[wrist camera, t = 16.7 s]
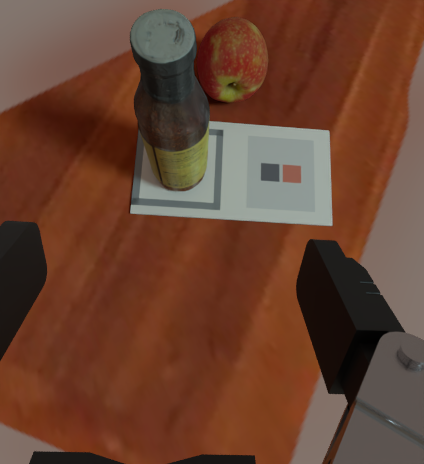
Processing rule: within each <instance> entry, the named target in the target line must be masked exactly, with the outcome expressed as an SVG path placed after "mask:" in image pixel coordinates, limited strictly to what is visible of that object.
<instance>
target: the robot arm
mask: <svg viewBox="0 0 424 464" xmlns="http://www.w3.org/2000/svg"><path fill="white" fill-rule="evenodd" d="M46 276H47V264H46V259H45V254H44V250H43V245H42V240H41V236H40V231H39V228H38V225H37V224H36V223H34V222H19V221H5V222H4V223H3V224H2V225H1V226H0V361H1V359H2V357H3V355H4V354H5V352H6V350H7V348H8V347H9V345H10V343H11V342H12V340H13V338H14V336H15V335H16V333H17V331H18V329H19V328H20V326H21V324H22V322H23V321H24V319H25V317H26V316H27V314H28V312H29V310H30V309H31V307H32V305H33V303H34V302H35V300H36V298H37V297H38V295H39V293H40V291H41V290H42V288H43V286H44V284H45V281H46ZM373 283H374V282H373V280H372V278H371V277H370V275H369V274H368V272H367V270H366V269H365V268H364V267H362V266H361V265H360V264H359V263H358V262H356V261H355V260H354V259H353V258H346V257H345V255H344V253H343V251H342V250H341V248H340V246H339V245H338V243H337V242H336V241H332V240H315V239H310V240H309V241H308V243H307V245H306V249H305V252H304V256H303V260H302V263H301V267H300V271H299V274H298V278H297V284H296V293H297V299H298V302H299V305H300V308H301V311H302V314H303V317H304V320H305V323H306V326H307V329H308V332H309V335H310V339H311V342H312V345H313V348H314V351H315V354H316V357H317V360H318V363H319V366H320V369H321V372H322V375H323V378H324V381H325V384H326V387H327V390H328V393H329V394H345V397H346V399H347V402H348V404H347V406H346V408H345V410H344V413H343V415H342V418H341V420H340V422H339V425H338V427H337V429H336V432H335V434H334V437H333V439H332V441H331V444H330V446H329V448H328V451H327V453H326V456H325V458H324V460H323V463H322V464H424V340H422V339H420V338H418V337H416V336H414V335H411V334H407V333H405V331H404V329H403V328H402V326H401V324H400V323H399V322H398V320H397V318H396V317H395V315H394V313H393V312H392V310H391V309H390V307H389V306H388V304H387V302H386V301H385V299H384V298H383V296H382V295H380V291H379V290H378V288H377V286H376V285H375V284H373ZM29 464H124V463H121V462H118V461H115V460H111V459H108V458H105V457H102V456H99V455H96V454H93V453H90V452H36V451H35V452H33V455H32V458H31V460H30V463H29ZM169 464H256V462H255V456H252V455H199V456H195V457H191V458H187V459H184V460H180V461H176V462H173V463H169Z"/></svg>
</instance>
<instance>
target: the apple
mask: <svg viewBox="0 0 424 464" xmlns="http://www.w3.org/2000/svg"><path fill="white" fill-rule="evenodd" d="M267 66H268V53H267V48H266V44H265V41H264V38H263V36H262V34H261V33H260V31H259V30H258V28H257V27H256V26H255V25H254V24H252V23H251V22H249V21H248V20H246V19H243V18H239V17H233V18H227V19H224V20H221V21H219V22H218V23H216V24H215V25H214V26H213V27H212V28H211V29H210V30H209V31H208V32H207V33H206V35H205V37H204V38H203V40H202V42H201V45H200V47H199V51H198V56H197V70H198V76H199V81H200V83H201V86H202V88H203V89H204V91H205V92H206V93H207V94H208V95H209V96H210V97H211V98H213V99H214V100H217V101H221V102H228V103H231V102H233V103H234V102H240V101H244V100H246V99H248V98H250V97H251V96H253V95H254V94H255V93H256V91H257V90H258V89H259V88H260V86H261V85H262V83H263V81H264V79H265V76H266V73H267Z"/></svg>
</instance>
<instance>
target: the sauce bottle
mask: <svg viewBox="0 0 424 464" xmlns="http://www.w3.org/2000/svg"><path fill="white" fill-rule="evenodd" d="M130 43H131V48H132V52H133V57H134V59H135V61H136V63H137V64H138V65H139V68H140V72H141V80H140V83H139V85H138V88H137V91H136V93H135V96H134V110H135V115H136V117H137V120H138V127H139V131H140V134H141V137H142V140H143V143H144V146H145V149H146V153H147V156H148V159H149V162H150V165H151V168H152V171H153V174H154V175H155V177H156V178H157V180H158V181H159V182H160V183H161V184H162V186H164V187H165V188H166V189H169V190H171V191H188V190H190V189H192V188H194V187H195V186H197V185H198V184H199V183H200V182H201V181H202V179H203V177H204V173H205V171H206V168H207V159H208V141H209V121H210V119H209V118H210V110H209V103H208V100H207V97H206V95H205V93H204V91H203V89H202V88H201V86H200V84H199V82H198V80H197V78H196V77H195V74H194V59H195V57H196V51H197V46H196V36H195V31H194V28H193V26H192V24H191V23H190V21H189V20H188V19H187V18H186V17H185V16H184V15H182V14H180V13H179V12H176V11H174V10H167V9H158V10H153V11H149V12H147V13H144V14H143V15H142V16H140V17H139V18H138V19H137V20H136V21H135V23H134V24H133V26H132V28H131V32H130Z"/></svg>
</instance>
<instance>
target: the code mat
mask: <svg viewBox="0 0 424 464" xmlns="http://www.w3.org/2000/svg"><path fill="white" fill-rule="evenodd" d="M130 214H144V215H160V216H176V217H193V218H209V219H225V220H241V221H257V222H273V223H289V224H306V225H322V226H332V199H331V167H330V136H329V131H327V130H314V129H302V128H289V127H276V126H263V125H250V124H238V123H225V122H212V121H209V141H208V159H207V168H206V171H205V173H204V177H203V179H202V181H201V182H200V183H199V184H198V185H197V186H195V187H194V188H192V189H190V190H188V191H171V190H169V189H166V188H165V187H164V186H162V184H161V183H160V182H159V181H158V180H157V178H156V177H155V175H154V174H153V171H152V168H151V165H150V162H149V159H148V156H147V153H146V149H145V146H144V143H143V140H142V137H141V134H140V131H138V141H137V151H136V161H135V171H134V181H133V190H132V200H131V211H130Z"/></svg>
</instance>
